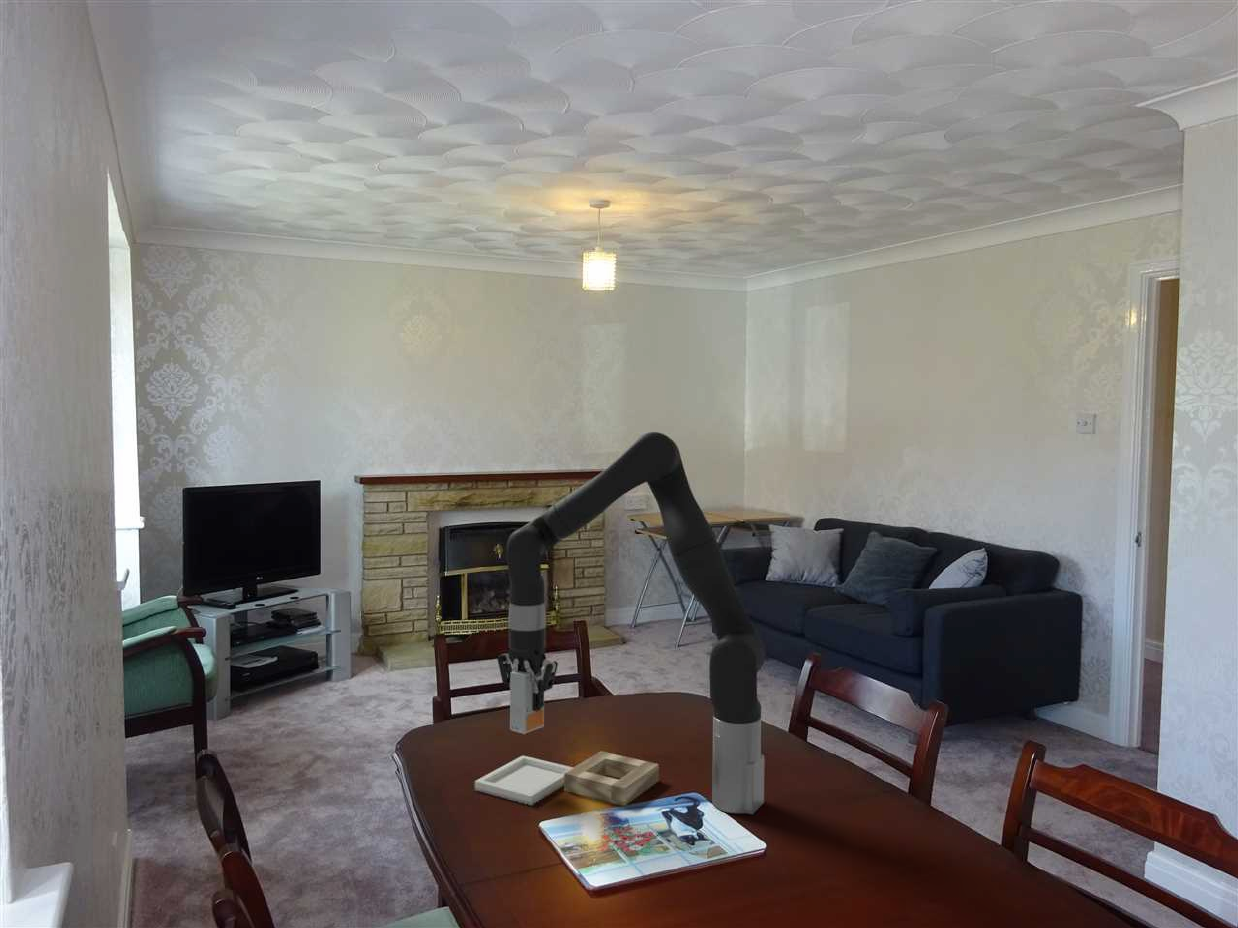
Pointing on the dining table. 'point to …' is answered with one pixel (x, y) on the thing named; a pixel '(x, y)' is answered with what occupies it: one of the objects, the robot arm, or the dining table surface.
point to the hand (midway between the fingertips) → (527, 707)
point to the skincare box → (523, 704)
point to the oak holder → (596, 785)
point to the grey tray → (523, 780)
